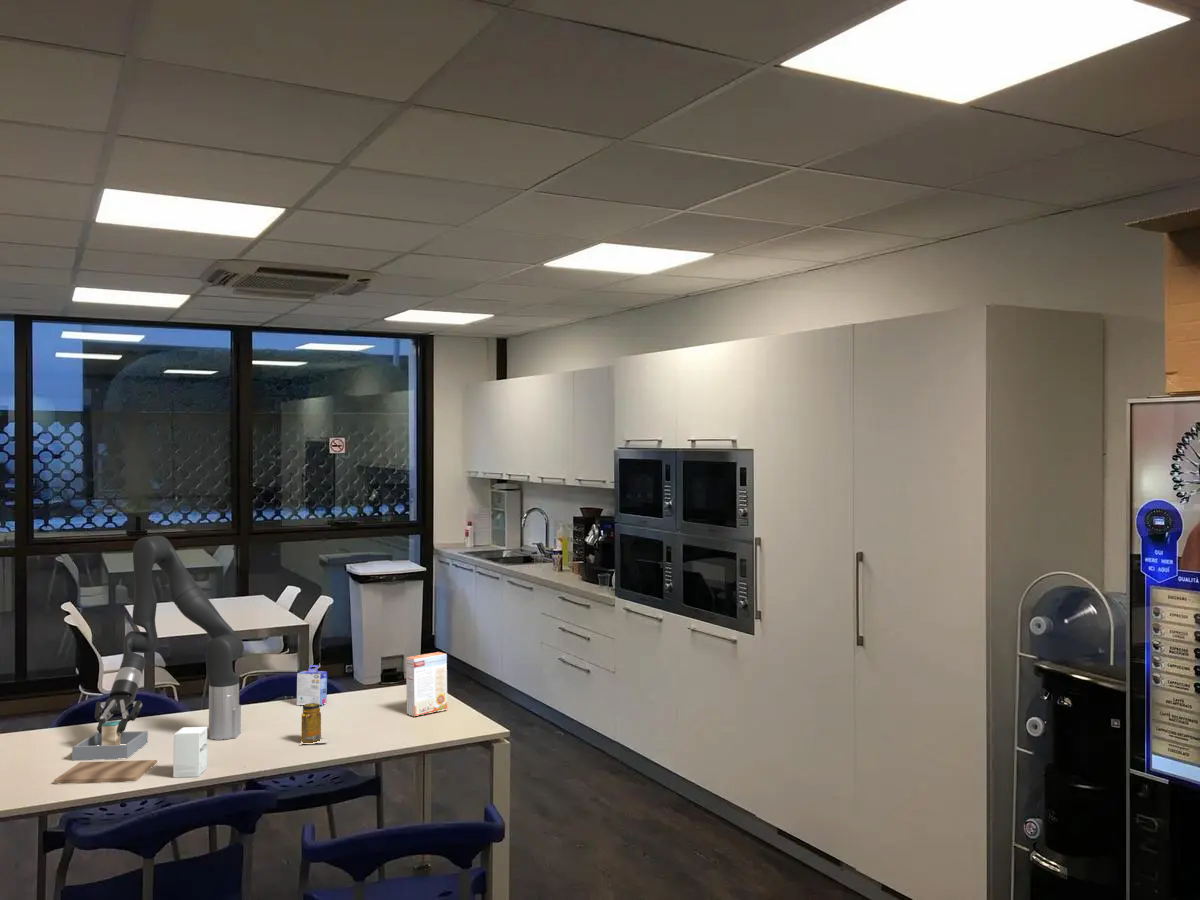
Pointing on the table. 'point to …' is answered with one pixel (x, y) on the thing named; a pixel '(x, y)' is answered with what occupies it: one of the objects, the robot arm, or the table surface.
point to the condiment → (311, 723)
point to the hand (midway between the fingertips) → (110, 731)
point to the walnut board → (106, 771)
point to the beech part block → (111, 733)
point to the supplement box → (190, 752)
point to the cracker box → (426, 683)
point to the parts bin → (109, 746)
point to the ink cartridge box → (312, 686)
